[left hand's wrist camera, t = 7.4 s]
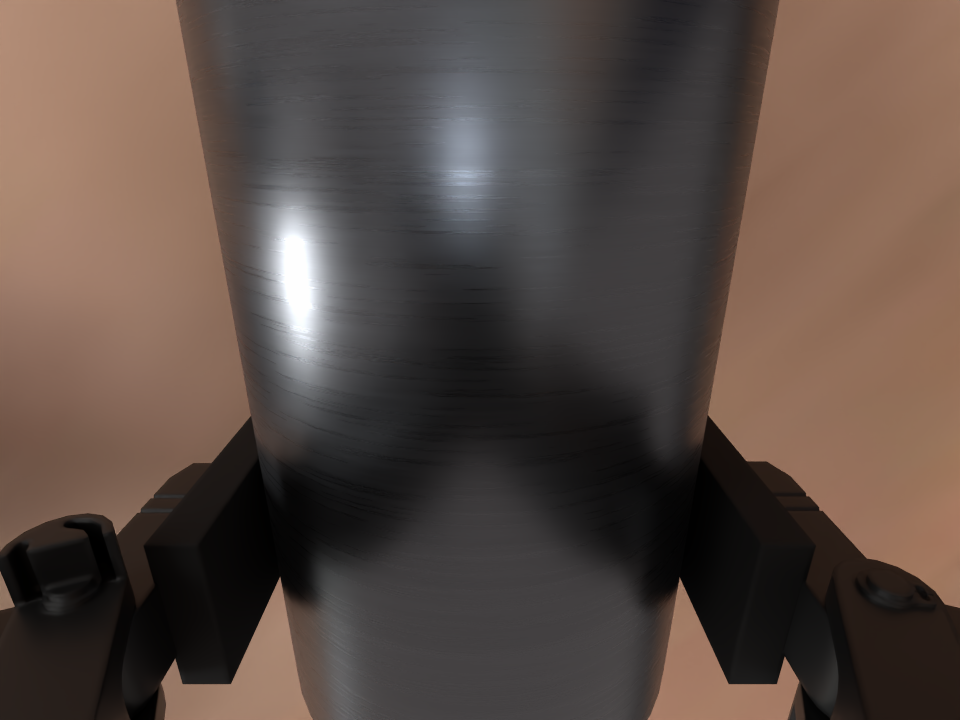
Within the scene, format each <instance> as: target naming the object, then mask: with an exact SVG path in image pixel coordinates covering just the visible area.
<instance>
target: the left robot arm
mask: <svg viewBox="0 0 960 720" xmlns="http://www.w3.org/2000/svg"><path fill="white" fill-rule="evenodd" d="M0 572H1V574H2V576H3V579H4V581H5V584H6V586H7V588H8V591H9V593H10V596H11V598H12V600H13V603H14V605H15V607H13V608H9V609H5V610H0V720H164V717H165V708H166V702H165V695H164V691H163V687H162V684H161V682H162V680H163V678H164V676H165V675H166V673H167V671H168V670H169V668H170V666H171V665H172V663H173V661H174V659H176V662H177V666H178V669H179V673H180V676H181V680H182V683H183V684H231V682H232V680H233V678H234V676H235V674H236V672H237V669H238V667H239V665H240V663H241V661H242V658H243V656H244V654H245V652H246V650H247V648H248V645H249V643H250V641H251V639H252V637H253V634H254V632H255V630H256V628H257V626H258V624H259V621H260V619H261V617H262V615H263V613H264V610H265V608H266V606H267V604H268V602H269V600H270V597H271V595H272V593H273V591H274V589H275V586H276V584H277V582H278V580H279V578H280V572H279V566H278V561H277V555H276V550H275V544H274V539H273V533H272V528H271V522H270V517H269V511H268V506H267V500H266V495H265V489H264V484H263V478H262V472H261V467H260V461H259V456H258V450H257V445H256V439H255V434H254V428H253V423H252V417H250V418H249V419H248V420H247V421H246V423H245V424H244V425H243V426H242V427H241V429H240V430H239V431H238V432H237V433H236V435H235V436H234V437H233V438H232V439H231V441H230V442H229V443H228V444H227V445H226V447H225V448H224V449H223V450H222V452H221V453H220V454H219V455H218V456H217V458H216V459H215V460H214V461H213V462H212V463H193V464H192V465H190V466H188V467H187V468H185V469H183V470H182V471H180V472H179V473H177V474H175V475H174V476H172V477H171V478H169V479H168V480H167V482H166V483H165V484H164V485H163V486H162V487H161V488H160V489H159V490H158V491H157V492H156V493H155V495H154V498H151V499H150V500H149V501H148V502H147V503H146V504H145V505H144V507H143V508H142V509H141V513H137V514H136V515H135V516H134V517H133V518H132V520H131V521H130V522H129V523H128V524H127V525H126V526H125V527H124V528H123V529H122V530H121V532H120V533H119V534H118V535H117V536H116V534H115V530H114V527H113V524H112V521H110V520H109V519H107V518H106V517H105V516H103V515H96V514H88V513H87V514H79V515H70V516H65V517H62V518H59V519H55V520H52V521H48V522H45V523H43V524H41V525H39V526H37V527H35V528H32V529H30V530H28V531H26V532H24V533H23V534H21V535H20V536H18V537H17V538H15V539H14V540H12V541H11V542H10V543H8V544H7V545H6V546H5V547H4V548H3V549H2V550H1V551H0ZM680 579H681V581H682V583H683V585H684V587H685V590H686V592H687V594H688V596H689V598H690V600H691V603H692V605H693V607H694V609H695V611H696V614H697V616H698V618H699V620H700V622H701V624H702V627H703V629H704V631H705V633H706V635H707V638H708V640H709V642H710V644H711V646H712V648H713V651H714V653H715V655H716V657H717V659H718V662H719V664H720V666H721V668H722V670H723V672H724V675H725V677H726V679H727V681H728V683H729V684H777V682H778V678H779V675H780V671H781V667H782V664H783V660H784V657H786V659H787V661H788V662H789V664H790V666H791V667H792V669H793V671H794V673H795V674H796V676H797V678H798V679H799V684H798V687H797V691H796V694H795V697H794V700H793V704H792V707H791V710H790V713H789V717H788V720H960V608H957V607H953V606H948V605H945V604H944V603H943V602H942V600H941V599H940V598H939V596H938V595H937V593H936V592H935V591H934V590H933V589H931V588H930V587H929V586H928V585H926V584H925V583H924V582H923V581H921V580H920V579H919V578H917V577H915V576H913V575H912V574H910V573H908V572H906V571H904V570H902V569H900V568H898V567H896V566H893V565H890V564H887V563H884V562H881V561H878V560H872V559H867V558H866V557H865V556H864V555H863V554H862V553H861V552H860V551H859V550H858V549H857V548H856V547H855V546H854V544H853V543H852V542H851V541H850V540H849V539H848V538H847V537H846V536H845V535H844V534H843V533H842V531H841V530H840V529H839V528H838V527H837V526H836V525H835V524H834V523H833V522H832V521H831V520H830V519H829V517H828V516H827V515H826V514H825V513H824V512H823V511H819V507H818V506H817V504H816V503H815V502H814V501H813V500H812V499H811V498H810V497H807V496H806V493H805V492H804V490H803V489H802V488H801V487H800V486H799V485H798V484H797V483H796V482H795V481H794V480H793V479H792V478H791V476H789V475H788V474H786V473H784V472H783V471H781V470H779V469H778V468H776V467H775V466H773V465H771V464H770V463H768V462H746V460H745V459H744V458H743V457H742V456H741V454H740V453H739V452H738V451H737V450H736V448H735V447H734V446H733V445H732V444H731V442H730V441H729V440H728V439H727V438H726V436H725V435H724V434H723V433H722V432H721V430H720V429H719V428H718V427H717V426H716V424H715V423H714V422H713V421H712V420H711V418H710V417H709V416H708V415H707V421H706V427H705V433H704V439H703V444H702V450H701V456H700V462H699V468H698V473H697V479H696V485H695V491H694V496H693V502H692V508H691V514H690V520H689V525H688V531H687V537H686V543H685V549H684V554H683V560H682V566H681V572H680Z"/></svg>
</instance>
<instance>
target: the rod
mask: <svg viewBox="0 0 960 720" xmlns="http://www.w3.org/2000/svg"><path fill="white" fill-rule="evenodd" d="M176 4H177V9H178V15H179V20H180V26H181V31H182V37H183V42H184V48H185V53H186V59H187V64H188V70H189V75H190V81H191V86H192V92H193V97H194V103H195V108H196V114H197V119H198V125H199V130H200V136H201V142H202V147H203V153H204V158H205V164H206V169H207V175H208V180H209V186H210V191H211V197H212V202H213V208H214V213H215V219H216V224H217V230H218V235H219V241H220V246H221V252H222V257H223V263H224V268H225V274H226V279H227V285H228V290H229V296H230V301H231V307H232V313H233V318H234V324H235V329H236V335H237V340H238V346H239V351H240V357H241V362H242V368H243V373H244V379H245V384H246V390H247V395H248V401H249V406H250V412H251V417H252V423H253V428H254V434H255V439H256V445H257V450H258V456H259V461H260V467H261V472H262V478H263V484H264V489H265V495H266V500H267V506H268V511H269V517H270V522H271V528H272V533H273V539H274V544H275V550H276V555H277V561H278V566H279V572H280V577H281V583H282V588H283V594H284V599H285V605H286V610H287V616H288V621H289V627H290V632H291V638H292V643H293V649H294V655H295V660H296V666H297V671H298V676H299V681H300V686H301V691H302V695H303V697H304V700H305V702H306V705H307V707H308V710H309V713H310V715H311V717H312V718H313V720H647V719H648V718H649V716H650V714H651V712H652V709H653V707H654V704H655V701H656V699H657V696H658V694H659V690H660V685H661V680H662V675H663V670H664V664H665V658H666V653H667V647H668V641H669V635H670V629H671V624H672V618H673V612H674V606H675V601H676V595H677V589H678V583H679V577H680V572H681V566H682V560H683V554H684V549H685V543H686V537H687V531H688V525H689V520H690V514H691V508H692V502H693V496H694V491H695V485H696V479H697V473H698V468H699V462H700V456H701V450H702V444H703V439H704V433H705V427H706V421H707V415H708V410H709V404H710V398H711V392H712V387H713V381H714V375H715V369H716V363H717V358H718V352H719V346H720V340H721V335H722V329H723V323H724V317H725V311H726V306H727V300H728V294H729V288H730V282H731V277H732V271H733V265H734V259H735V254H736V248H737V242H738V236H739V230H740V225H741V219H742V213H743V207H744V202H745V196H746V190H747V184H748V178H749V173H750V167H751V161H752V155H753V149H754V144H755V138H756V132H757V126H758V121H759V115H760V109H761V103H762V97H763V92H764V86H765V80H766V74H767V69H768V63H769V57H770V51H771V45H772V40H773V34H774V28H775V22H776V16H777V11H778V5H779V0H176Z"/></svg>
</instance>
